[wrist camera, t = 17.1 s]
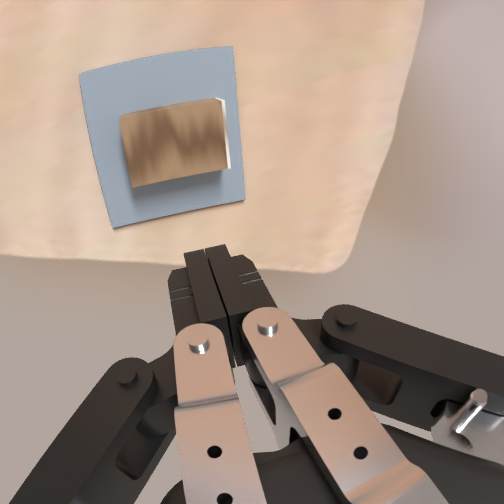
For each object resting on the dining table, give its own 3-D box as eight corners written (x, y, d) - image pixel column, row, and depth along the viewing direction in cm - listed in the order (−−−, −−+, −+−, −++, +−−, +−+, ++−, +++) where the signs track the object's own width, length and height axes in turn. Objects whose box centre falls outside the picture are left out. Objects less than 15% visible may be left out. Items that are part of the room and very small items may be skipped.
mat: (79, 74, 25) (78, 74, 25) (231, 46, 28) (232, 46, 28) (113, 226, 35) (112, 228, 35) (244, 198, 38) (245, 199, 38)
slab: (118, 119, 26) (224, 100, 28) (122, 114, 28) (217, 97, 31) (132, 187, 29) (230, 168, 32) (133, 176, 32) (223, 159, 34)
